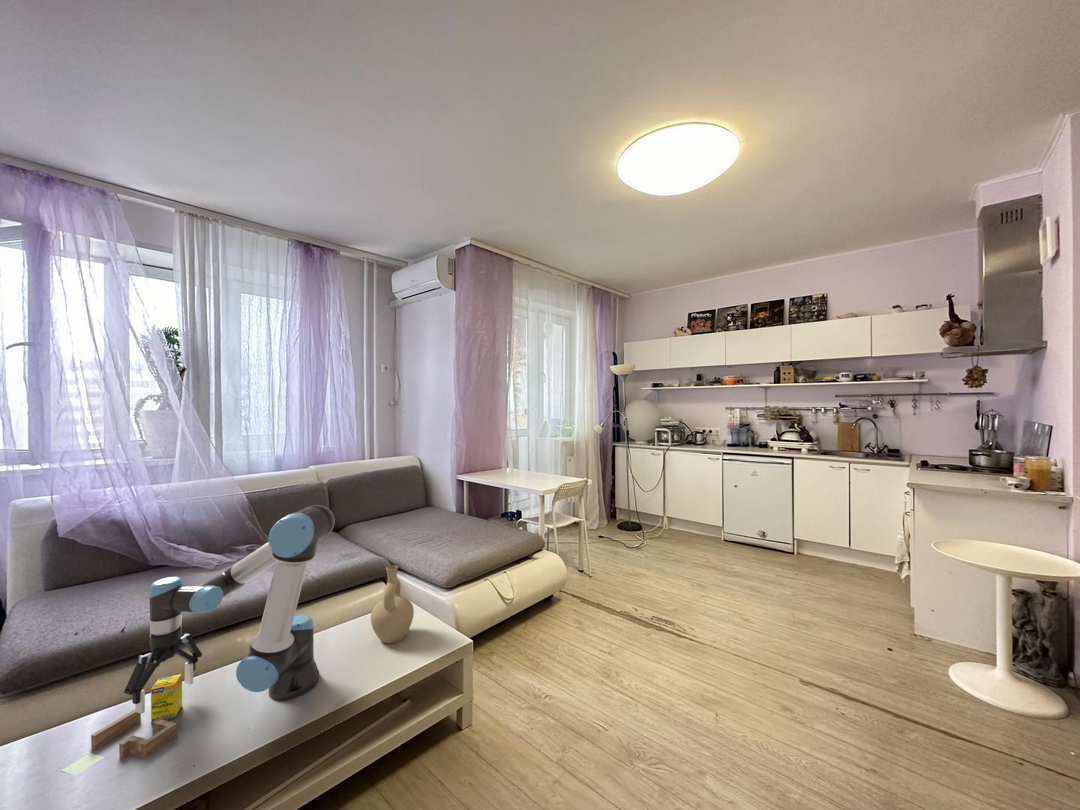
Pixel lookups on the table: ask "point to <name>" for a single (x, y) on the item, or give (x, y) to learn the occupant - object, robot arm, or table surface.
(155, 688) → the supplement box
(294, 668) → the robot arm
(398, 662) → the table surface
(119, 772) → the table surface
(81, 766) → the pad
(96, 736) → the tunnel rails
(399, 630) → the vase
